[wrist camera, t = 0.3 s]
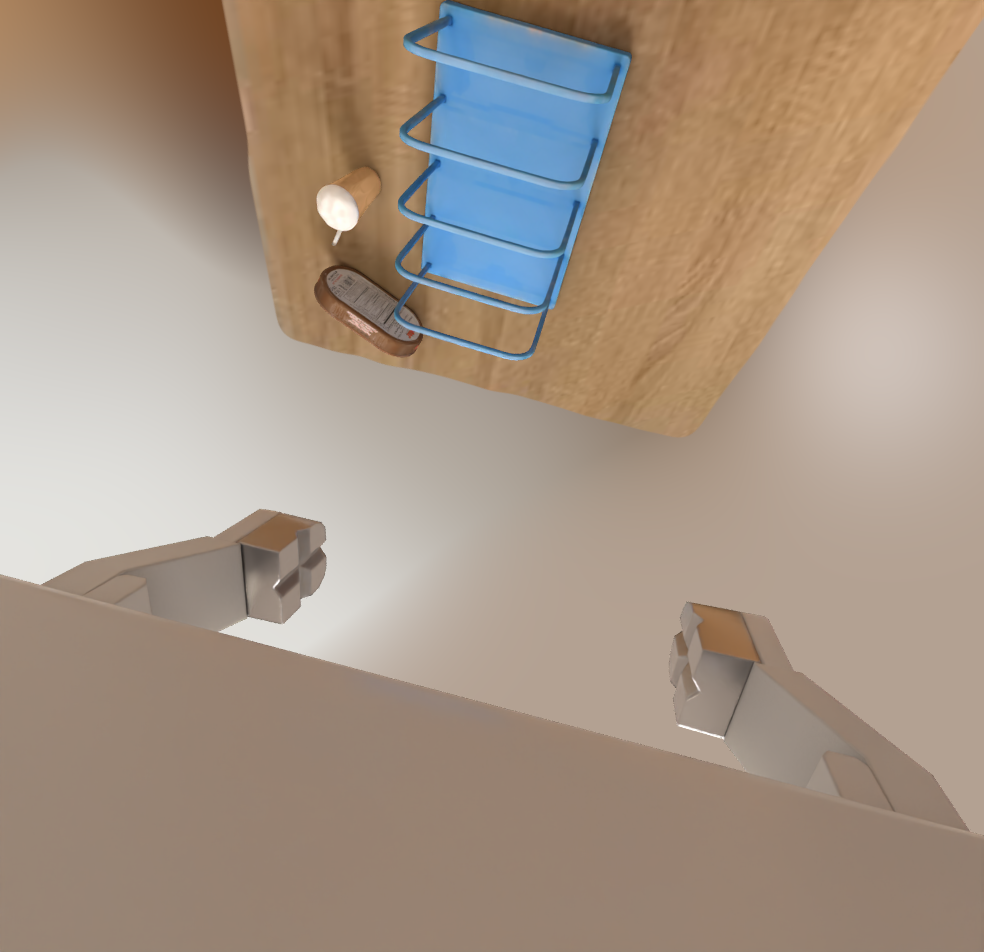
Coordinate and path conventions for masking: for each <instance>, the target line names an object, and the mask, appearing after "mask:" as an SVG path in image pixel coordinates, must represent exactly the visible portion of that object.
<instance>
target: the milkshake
mask: <svg viewBox="0 0 984 952" xmlns="http://www.w3.org/2000/svg"><path fill="white" fill-rule="evenodd" d="M380 190H381V180H380V178H379V177H378V175H377V174H376V172H375V171H374V170H372V169H370V168H369V167H367V166H366V167H360V168H357V169H356V170H354V171H352V172H350V173H349V174H347V175H345V176H343V177H342V178H340V179H338V180H336V181H334V182H332V183H330V184H328V185H326V186H324V187H323V188H322V189H321V190H320V191H319V192H318V194H317V209H318V212H319V214H320V215H321V217H322V218H323V219H324V221H325V222H326V223H327V224H328V225H329V226H331V227H332V228H334V229H337V230H338V231H337V234H336V236H335V238H334V240H333V242H332V245H334V246H336V244H337V241H338V239H339V237H340V235H341V233H342V231H348V230H351V229H352V228H353V227H354V226H355V225H356V224H357V222H358V221H359V219H360V218H361V217H362V215H363V214H364V212H365V210H366V209H367V208H368V207H369V205H370V204H371V203H372V202H373V200H374V199H375V198H376V196H377V195H378V193H379V192H380Z"/></svg>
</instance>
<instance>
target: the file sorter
mask: <svg viewBox="0 0 984 952" xmlns="http://www.w3.org/2000/svg"><path fill="white" fill-rule="evenodd" d="M437 31H438V42H437V51H436V50H432V49H429V48H426V47H423V46H421V45H418V44H416V43H415V42H417V41H419V40H421V39H423V38H425V37H427V36H429V35H431V34H433V33H435V32H437ZM403 45H404V47H405V48H406V49H407V50H408V51H410V52H411V53H413V54H416V55H418V56H420V57H423V58H427V59H430V60H433V61H436V71H435V85H434V99H433V101H432V102H431V103H429V104H428V105H427V106H426V107H424V108H423V109H422V110H421V111H419V112H418V113H417V114H415V115H414V116H413V117H412V118H410V119H409V120H408V121H407V122H406V123H404V124H403V125H402V126H401V128H400V138H401V139H402V141H403V142H405V143H406V144H407V145H409V146H411V147H413V148H416V149H418V150H421V151H424V152H428V153H430V154H429V167H428V168H427V169H426V170H425V171H424V172H423V173H422V175H420V176H419V177H418V178H417V180H416V181H415V182H414V183H413V184H412V185H411V186H410V187H409V188H408V189H407V190H406V191H405V192H404V193H403V194H402V196H401V197H400V198H399V200H398V209H399V211H400V212H401V213H402V214H403V215H404V216H406V217H407V218H409V219H411V220H414V221H416V222H419V223H422V224H423V225H422V227H421V228H420V229H419V230H418V231H417V232H416V234H415V235H414V236H413V237H412V239H411V240H410V241H409V242H408V243H407V245H406V246H405V247H404V248H403V250H402V251H401V252H400V253H399V255H398V256H397V258H396V261H395V267H396V270H397V271H398V273H400V274H401V275H402V276H403V277H405V278H407V279H409V280H411V281H413V283H412V284H411V285H410V287H409V288H408V290H407V291H406V292H405V294H404V295H403V297H402V298H401V299H400V301H399V302H398V304H397V305H396V307H395V310H394V317H395V319H396V321H397V322H398V323H399V324H400V325H402V326H403V327H405V328H407V329H409V330H413V331H416V332H419V333H422V334H426V335H429V336H432V337H435V338H438V339H441V340H445V341H448V342H451V343H455V344H458V345H461V346H465V347H468V348H471V349H474V350H478V351H481V352H484V353H488V354H491V355H494V356H498V357H501V358H505V359H509V360H524V359H527V358H529V357H531V356H532V355H533V353H534V352H535V349H536V346H537V343H538V340H539V337H540V334H541V331H542V327H543V324H544V321H545V318H546V314H547V311H548V309H553V308H554V307H555V304H556V301H557V298H558V294H559V291H560V288H561V284H562V281H563V278H564V275H565V271H566V268H567V265H568V262H569V258H570V255H571V252H572V249H573V246H574V242H575V239H576V236H577V233H578V229H579V226H580V223H581V220H582V217H583V213H584V210H585V207H586V204H587V200H588V197H589V194H590V191H591V188H592V184H593V181H594V178H595V175H596V171H597V168H598V165H599V162H600V159H601V155H602V152H603V149H604V146H605V142H606V139H607V136H608V133H609V130H610V126H611V123H612V120H613V117H614V113H615V110H616V107H617V104H618V100H619V97H620V94H621V91H622V88H623V84H624V81H625V78H626V75H627V72H628V69H629V65H630V62H631V58H632V55H631V53H629V52H626V51H622V50H619V49H615V48H612V47H608V46H604V45H601V44H598V43H594V42H591V41H587V40H584V39H581V38H577V37H574V36H570V35H567V34H563V33H560V32H556V31H553V30H549V29H546V28H542V27H539V26H535V25H532V24H529V23H525V22H522V21H518V20H515V19H512V18H508V17H505V16H501V15H498V14H495V13H491V12H488V11H484V10H480V9H477V8H473V7H470V6H466V5H463V4H460V3H457V2H454V1H450V0H446V1H444V2H443V3H442V4H441V5H440V14H439V19H438V20H436V21H434V22H432V23H430V24H427V25H425V26H423V27H421V28H418V29H416V30H414V31H412V32H410V33H408V34H406V35H405V36H404V43H403ZM432 112H433V113H432ZM430 113H432V126H431V140H430V144H429V143H425V142H422V141H419V140H417V139H414V138H413V137H411V136H409V135H408V134H407V133H408V132H409V131H410V130H411V129H412V128H414V127H415V126H416V125H417V124H418V123H420V122H421V121H422V120H423V119H425V118H426V117H427V116H428V115H429V114H430ZM427 178H428V181H427V195H426V209H425V216H423V215H420V214H417V213H415V212H413V211H411V210H409V209H407V208H406V207H405V206H404V204H405V203H406V201H408V199H409V198H410V197H411V196H412V195H413V193H414V192H415V191H416V190H417V189H418V188H419V187H420V186H421V185H422V184H423V182H424V181H425V180H426V179H427ZM423 234H424V238H423V250H422V264H421V269H422V270H421V272H420V273H419V274H418V275H415V274H412V273H410V272H408V271H407V270H405V269H404V268H403V267H402V266H401V262H402V260H403V259H404V257H405V256H406V255H407V254H408V252H409V251H410V250H411V249H412V247H413V246H414V245H415V244H416V242H417V241H418V240H419V238H420V237H421V236H422V235H423ZM427 272H428V273H431V274H435V275H438V276H441V277H445V278H448V279H451V280H455V281H458V282H461V283H465V284H468V285H471V286H474V287H478V288H481V289H485V290H488V291H491V292H495V293H498V294H501V295H505V296H508V297H511V298H515V299H518V300H521V301H525V302H528V303H531V304H535V305H538V306H537V307H522V306H518V305H514V304H511V303H508V302H504V301H501V300H498V299H494V298H491V297H487V296H484V295H480V294H477V293H474V292H470V291H467V290H464V289H461V288H457V287H454V286H451V285H447V284H444V283H441V282H438V281H434V280H431V279H428V278H425V277H424V275H425V274H426V273H427ZM419 283H421V284H424V285H427V286H430V287H433V288H437V289H440V290H443V291H447V292H450V293H453V294H456V295H460V296H463V297H466V298H470V299H473V300H476V301H480V302H483V303H486V304H489V305H493V306H497V307H500V308H503V309H507V310H510V311H513V312H517V313H522V314H537V313H540V312H542V311H543V312H542V316H541V319H540V322H539V325H538V328H537V331H536V335H535V338H534V341H533V343H532V346H531V348H530V350H529V351H527V352H525V353H522V354H511V353H507V352H503V351H500V350H497V349H493V348H490V347H486V346H483V345H480V344H476V343H473V342H470V341H466V340H463V339H460V338H457V337H453V336H450V335H446V334H443V333H440V332H437V331H434V330H430V329H427V328H424V327H421V326H418V325H414V324H412V323H409V322H407V321H405V320H404V319H403V318H402V317H401V316H400V315H399V311H400V310H401V308H402V307H403V305H404V304H405V302H406V301H407V299H408V298H409V296H410V295H411V294H412V292H413V291H414V289H415V288H416V286H417V285H418V284H419Z"/></svg>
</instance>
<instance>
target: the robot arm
mask: <svg viewBox="0 0 984 952" xmlns="http://www.w3.org/2000/svg"><path fill="white" fill-rule="evenodd" d="M325 541H326V532H325V526H324V525H323V524H322V523H321V522H318V521H314V520H310V519H306V518H301V517H297V516H293V515H289V514H285V513H284V514H283V513H281V512H276V511H271V510H266V509H259V510H257V511H256V512H254V513H253V514H251V515H249V516H248V517H246V518H244V519H243V520H241V521H240V522H238V523H236V524H235V525H233V526H231V527H230V528H228V529H227V530H225V531H223V532H222V533H220V534H218V535H217V536H216V537H214V538H213V537H208V536H206V537H201V538H197V539H192V540H187V541H182V542H178V543H173V544H168V545H164V546H159V547H154V548H149V549H144V550H139V551H134V552H130V553H125V554H120V555H115V556H111V557H106V558H101V559H97V560H91V561H87V562H84V563H82V564H80V565H78V566H76V567H74V568H73V569H71V570H69V571H67V572H65V573H63V574H61V575H59V576H57V577H55V578H53V579H51V580H49V581H47V582H45V583H43V584H42V585H38V584H34V583H31V582H27V581H23V580H19V579H16V578H12V577H8V576H4V575H0V952H984V835H980V834H976V833H973V832H970V831H969V829H968V828H967V826H966V825H965V823H964V822H963V820H962V819H961V817H960V816H959V814H958V813H957V811H956V810H955V808H954V807H953V805H952V803H951V802H950V801H949V799H948V797H947V796H946V795H945V793H944V791H943V790H942V788H941V787H940V785H939V784H938V782H937V781H936V779H935V778H934V776H933V775H932V774H931V773H929V772H928V771H927V770H925V769H924V768H923V767H922V766H920V765H919V764H918V763H916V762H915V761H914V760H913V759H911V758H910V757H909V756H908V755H906V754H905V753H904V752H902V751H901V750H900V749H898V748H897V747H896V746H895V745H893V744H892V743H891V742H890V741H888V740H887V739H886V738H885V737H883V736H882V735H881V734H879V733H878V732H877V731H876V730H874V729H873V728H872V727H870V726H869V725H868V724H867V723H865V722H864V721H863V720H862V719H860V718H859V717H858V716H856V715H855V714H854V713H853V712H851V711H850V710H849V709H847V708H846V707H845V706H844V705H842V704H841V703H840V702H839V701H837V700H836V699H835V698H833V697H832V696H831V695H829V694H828V693H827V692H826V691H824V690H823V689H822V688H821V687H819V686H818V685H817V684H815V683H814V682H813V681H811V680H810V679H809V678H808V677H806V676H805V675H804V674H803V673H800V672H795V671H793V669H792V666H791V664H790V662H789V660H788V658H787V656H786V654H785V652H784V650H783V648H782V646H781V644H780V642H779V640H778V638H777V636H776V634H775V632H774V630H773V627H772V625H771V623H770V621H769V619H767V618H766V617H765V616H761V615H755V614H750V613H744V612H738V611H733V610H728V609H723V608H717V607H712V606H707V605H701V604H696V603H691V602H687V603H686V604H685V606H684V608H683V611H682V614H681V617H680V620H681V626H682V631H681V632H680V633H678V634H677V635H675V636H674V640H673V644H672V648H671V653H670V660H669V674H670V682H671V683H672V684H673V685H674V686H675V688H676V691H675V694H674V697H673V702H674V708H675V715H676V721H677V726H681V727H684V728H688V729H691V730H695V731H698V732H702V733H705V734H709V735H712V736H716V737H719V738H723V739H724V742H725V743H726V745H727V746H728V747H729V749H730V750H731V751H732V753H733V754H734V756H735V757H736V758H737V759H738V761H739V762H740V763H741V765H742V766H743V767H744V769H745V770H746V771H747V772H743V771H739V770H736V769H732V768H728V767H724V766H721V765H717V764H713V763H709V762H705V761H702V760H698V759H694V758H691V757H687V756H682V755H679V754H675V753H672V752H668V751H664V750H660V749H657V748H653V747H649V746H645V745H642V744H638V743H634V742H630V741H626V740H622V739H619V738H615V737H611V736H608V735H604V734H600V733H596V732H592V731H588V730H585V729H581V728H577V727H574V726H570V725H566V724H562V723H559V722H555V721H551V720H547V719H543V718H539V717H536V716H532V715H528V714H525V713H521V712H517V711H513V710H509V709H506V708H502V707H498V706H494V705H491V704H487V703H483V702H479V701H475V700H472V699H468V698H464V697H460V696H457V695H453V694H449V693H445V692H442V691H438V690H434V689H430V688H426V687H423V686H419V685H415V684H411V683H407V682H404V681H400V680H396V679H392V678H388V677H385V676H381V675H377V674H374V673H370V672H366V671H362V670H358V669H354V668H351V667H347V666H344V665H340V664H336V663H332V662H328V661H325V660H321V659H317V658H313V657H309V656H306V655H302V654H298V653H294V652H291V651H287V650H283V649H279V648H276V647H272V646H268V645H264V644H260V643H257V642H253V641H249V640H246V639H242V638H238V637H234V636H230V635H227V634H223V633H219V632H218V631H221V630H223V629H225V628H227V627H229V626H232V625H234V624H236V623H238V622H240V621H243V620H245V619H247V617H252V618H256V619H261V620H265V621H269V622H274V623H278V624H284V623H285V622H286V621H287V620H288V619H289V618H290V617H291V616H292V615H293V614H294V613H295V612H296V611H297V610H298V609H299V608H300V606H301V602H300V599H302V598H305V597H308V596H311V595H312V594H313V593H314V592H315V591H316V590H317V589H318V588H319V586H320V584H321V582H322V580H323V578H324V575H325V571H326V555H325V554H324V552H323V551H322V549H321V548H320V546H321V545H322V544H323V543H324V542H325Z"/></svg>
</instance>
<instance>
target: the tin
mask: <svg viewBox="0 0 984 952" xmlns="http://www.w3.org/2000/svg"><path fill="white" fill-rule="evenodd" d="M314 293H315V297H316V299H317V301H318V303H319V304H320V306H321V307H322V308H323V309H324V310H325V311H326V312H327V313H328V314H329V315H331V316H332V317H333V318H335V319H336V320H338V321H339V322H341V323H342V324H343V325H345V326H346V327H348V328H349V329H351V330H352V331H354V332H355V333H356V334H358V335H359V336H361V337H362V338H364V339H365V340H366V341H368V342H369V343H371V344H372V345H374V346H375V347H376V348H378V349H379V350H381V351H382V352H384V353H387V354H389V355H392V356H396V357H408V356H410V355H412V354H413V353H414V352H415V351H416V349H417V347H418V345H419V344H420V342H421V341H422V338H423V334H422V333H419V332H416V331H413V330H409V329H407V328H405V327H403V326H402V325H400V324H399V323H398V322H397V321H396V319H395V317H394V310H395V307H396V305H397V304H398V302H399V301H398V300H397V299H396V298H394V297H393V296H392V295H390V294H389V293H387V292H386V291H385V290H383V289H382V288H381V287H379V286H378V285H377V284H375V283H374V282H373V281H371V280H370V279H368V278H367V277H366V276H364V275H363V274H361V273H360V272H358V271H356V270H354V269H351V268H349V267H345V266H331V267H329V268H327V269H325V270H324V271H323V272H322V273H321V275H320V278H319V280H318V282H317V283H316V285H315V288H314ZM399 315H400V316H401V317H402V318H403V319H404V320H405V321H407V322H409V323H412V324H414V325H418V326H421V327H422V324H421V322H420V320H419V319H418V317H417V316H416V315H415V314H414V313H413V312H412V311H411V310H410V309H409V308H408V307H406V306H405V305H403V307H402V308H401V310H400V311H399Z"/></svg>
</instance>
